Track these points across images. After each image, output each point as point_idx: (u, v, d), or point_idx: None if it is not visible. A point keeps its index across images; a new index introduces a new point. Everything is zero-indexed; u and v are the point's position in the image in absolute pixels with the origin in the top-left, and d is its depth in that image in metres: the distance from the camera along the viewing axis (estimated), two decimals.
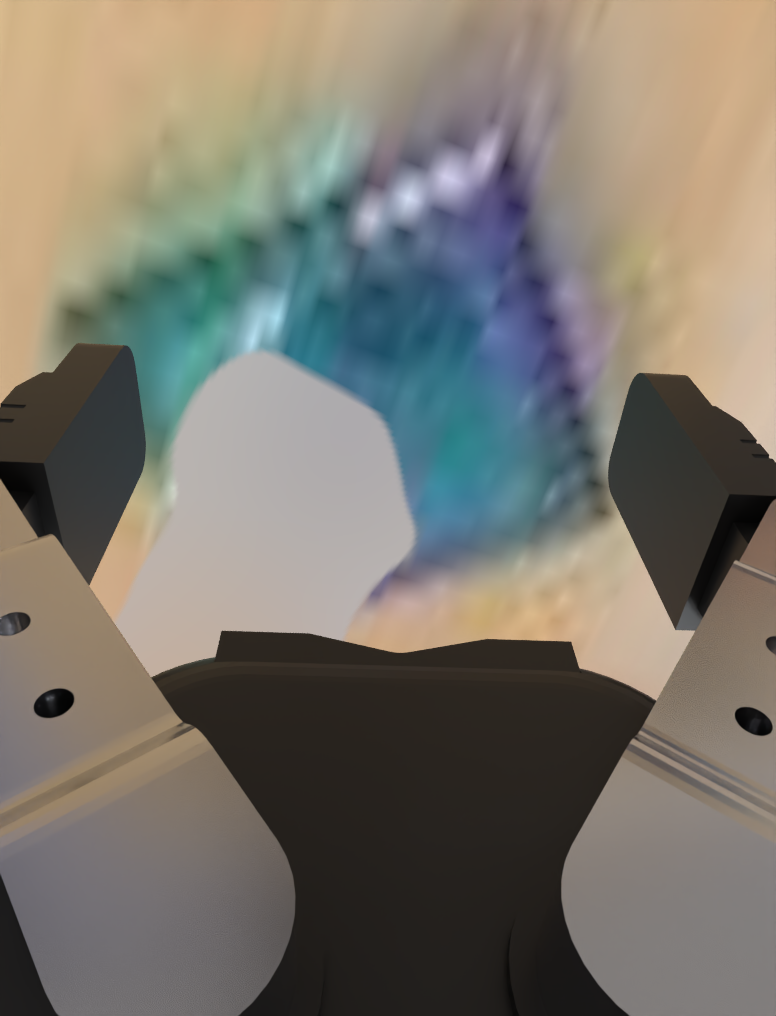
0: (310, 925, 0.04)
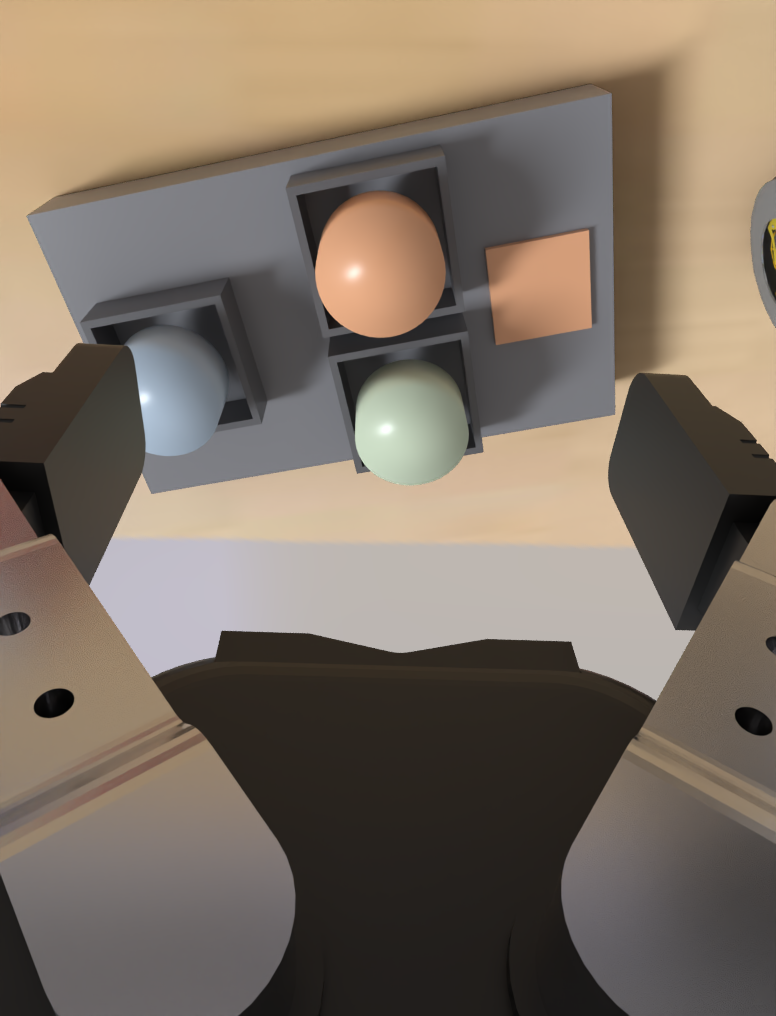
0: (310, 928, 0.04)
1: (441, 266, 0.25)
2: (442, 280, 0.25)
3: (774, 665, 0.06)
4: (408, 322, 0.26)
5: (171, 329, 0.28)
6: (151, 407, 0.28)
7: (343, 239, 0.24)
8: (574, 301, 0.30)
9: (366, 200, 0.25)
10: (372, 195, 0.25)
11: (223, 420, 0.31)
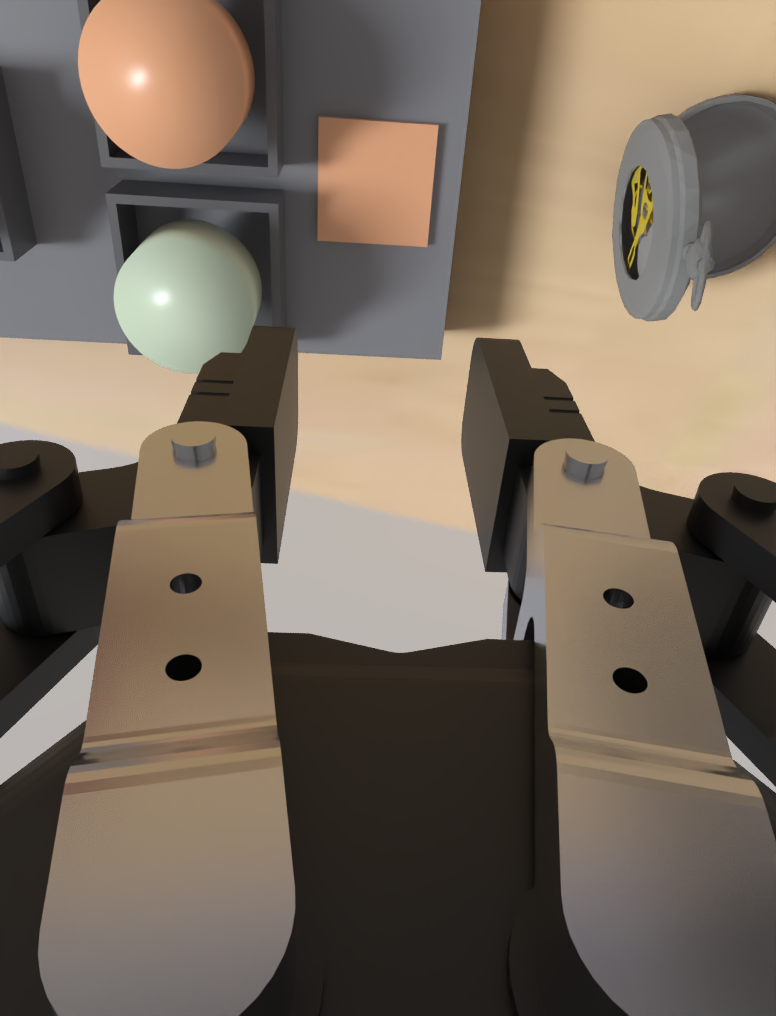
0: (310, 926, 0.04)
1: (238, 90, 0.20)
2: (238, 109, 0.21)
3: (619, 617, 0.06)
4: (191, 154, 0.21)
5: None
6: None
7: (118, 16, 0.19)
8: (411, 209, 0.26)
9: None
10: None
11: None
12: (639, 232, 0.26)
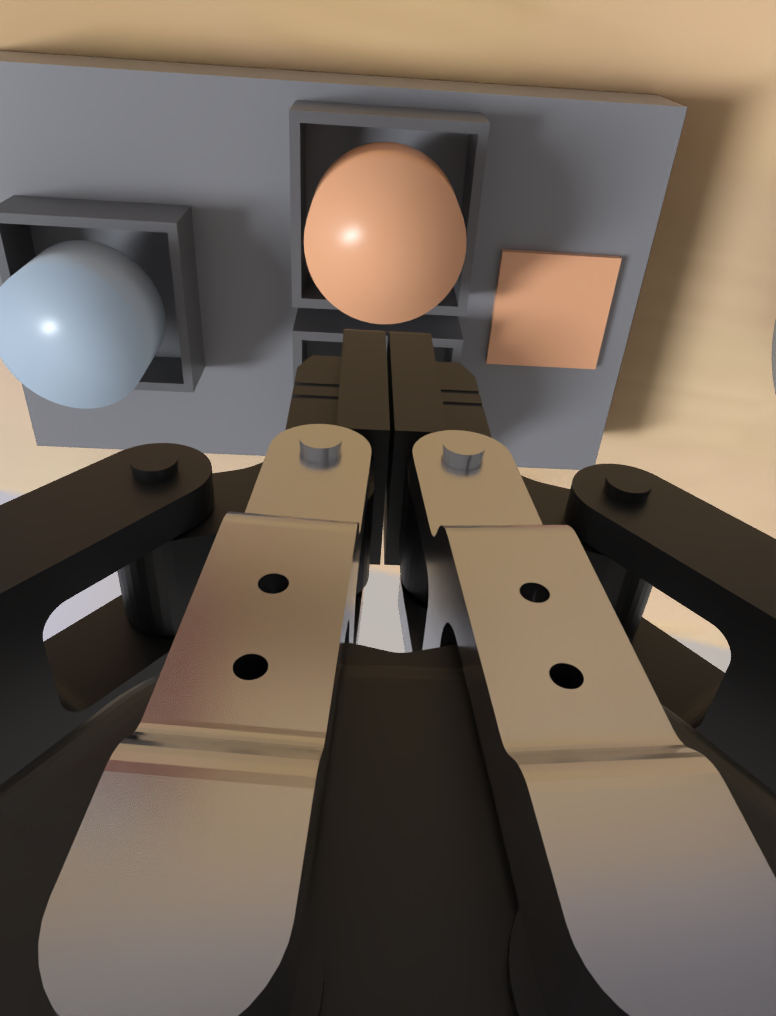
0: (310, 926, 0.04)
1: (460, 254, 0.20)
2: (457, 271, 0.21)
3: (541, 612, 0.06)
4: (404, 311, 0.21)
5: (105, 250, 0.22)
6: (58, 341, 0.22)
7: (351, 189, 0.19)
8: (584, 335, 0.26)
9: (388, 149, 0.20)
10: (395, 146, 0.20)
11: (146, 378, 0.25)
12: None
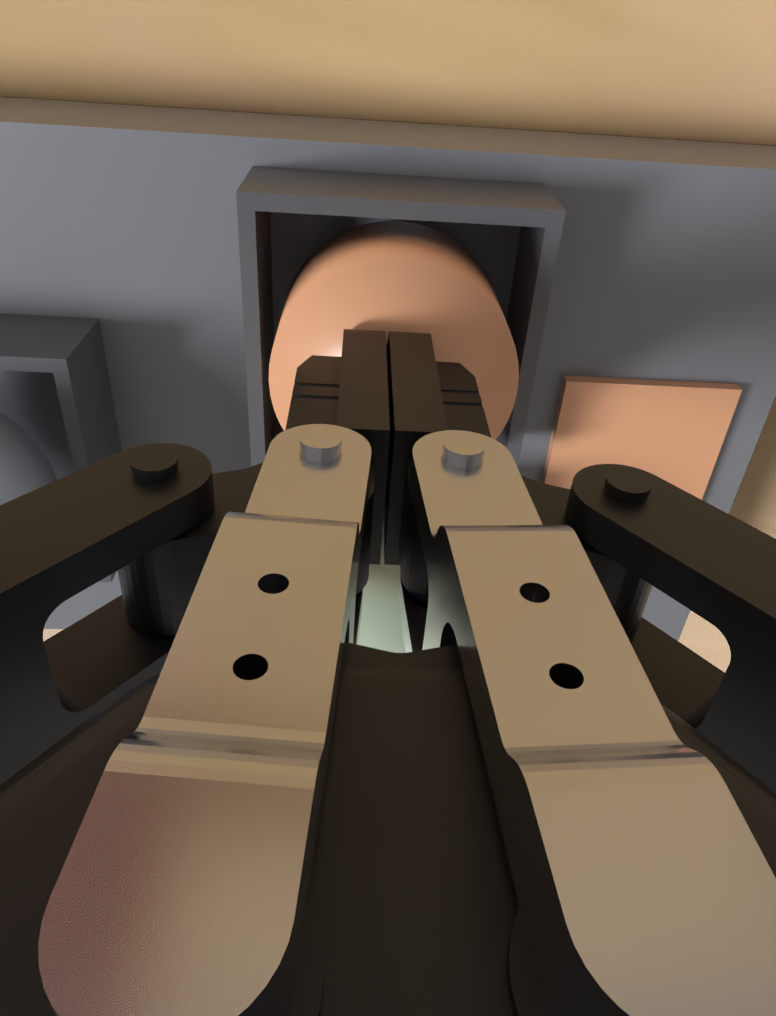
0: (310, 925, 0.04)
1: (507, 396, 0.13)
2: (503, 418, 0.14)
3: (541, 612, 0.06)
4: None
5: None
6: None
7: (340, 305, 0.12)
8: None
9: (398, 240, 0.13)
10: (408, 232, 0.13)
11: None
12: None
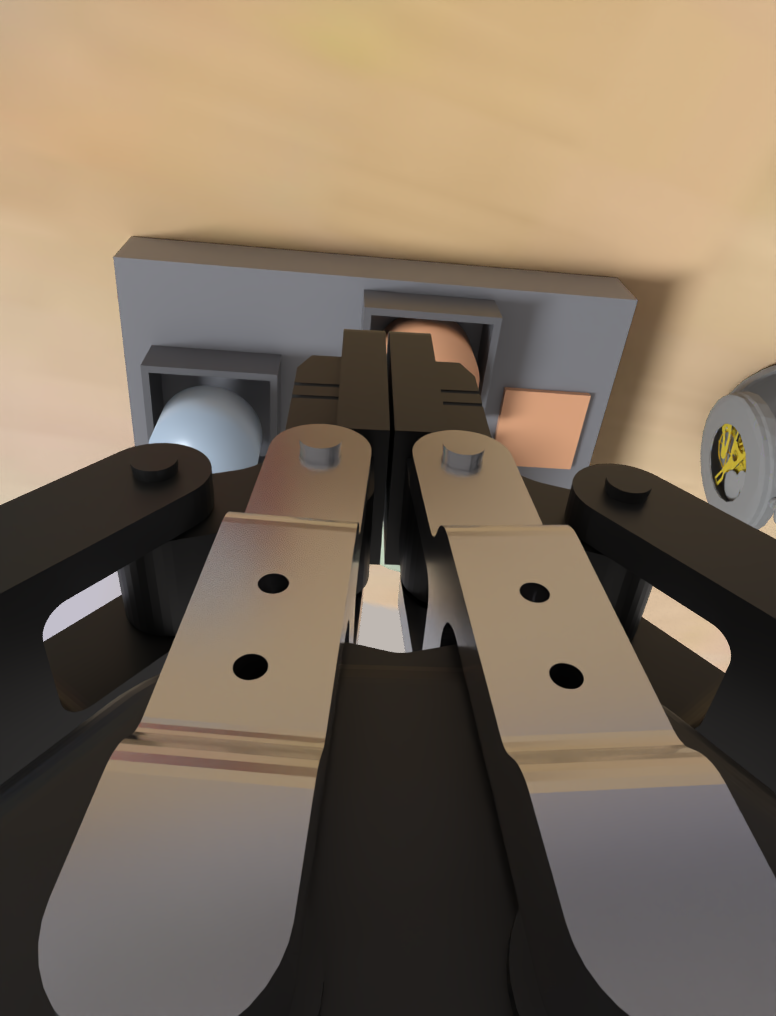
0: (310, 926, 0.04)
1: None
2: None
3: (541, 612, 0.06)
4: None
5: (226, 394, 0.31)
6: None
7: None
8: (563, 446, 0.36)
9: (430, 322, 0.30)
10: None
11: None
12: (728, 466, 0.36)
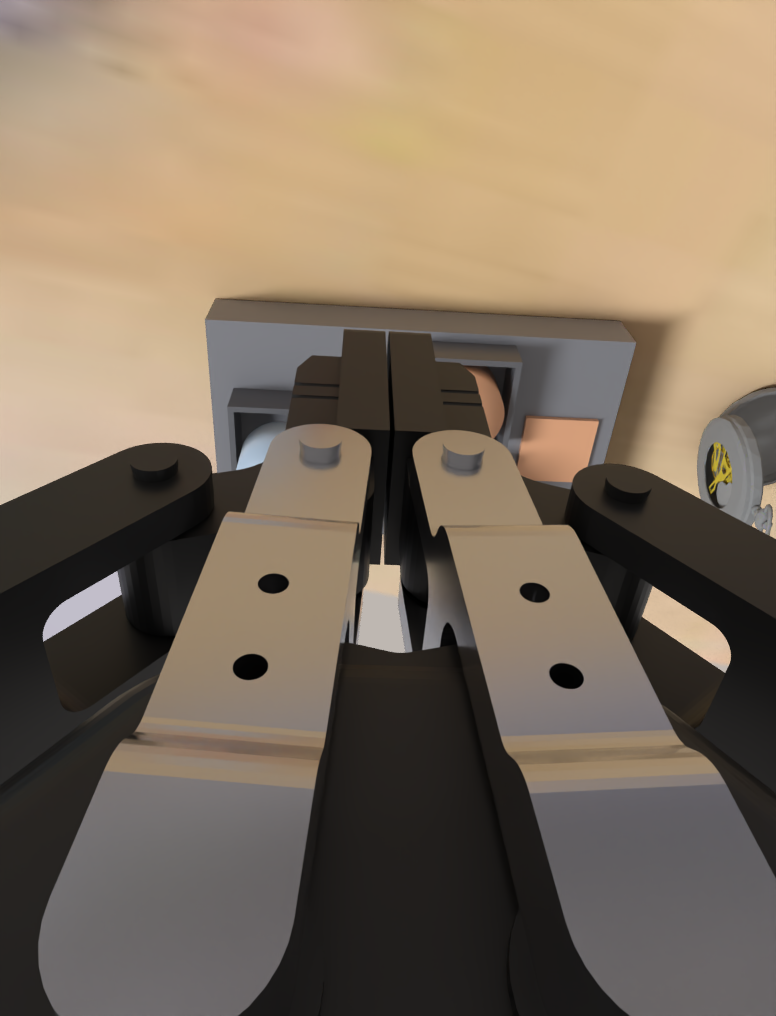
0: (310, 926, 0.04)
1: (500, 419, 0.38)
2: (498, 427, 0.38)
3: (541, 612, 0.06)
4: None
5: None
6: None
7: None
8: (576, 463, 0.42)
9: None
10: None
11: None
12: (719, 478, 0.42)
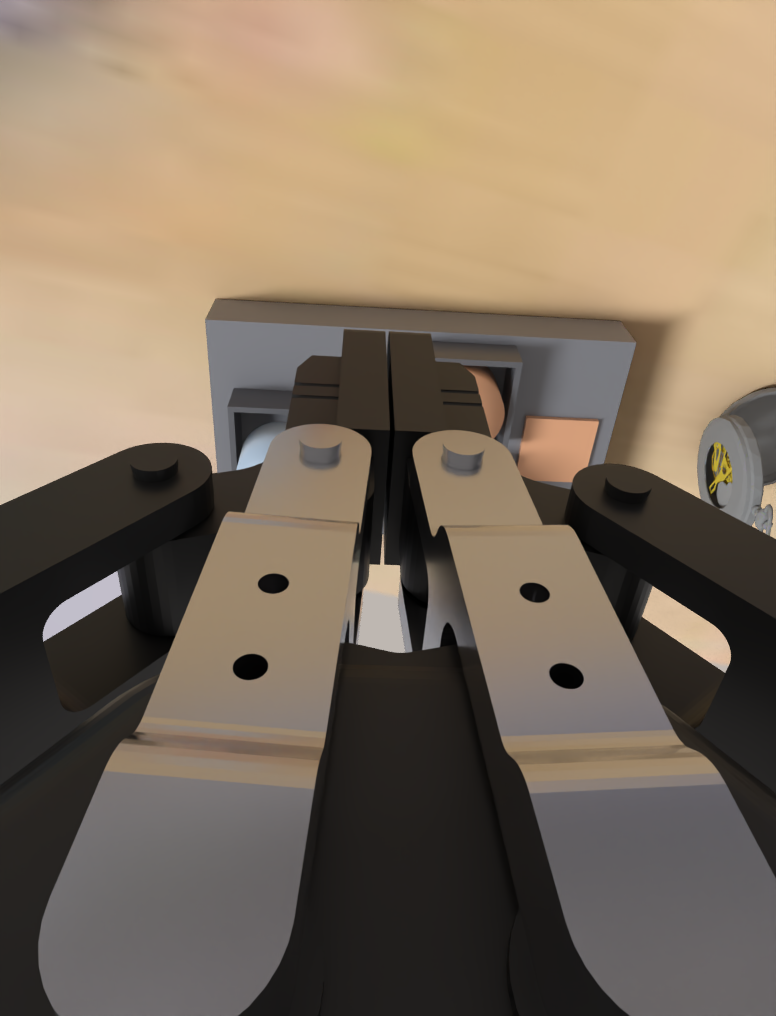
0: (310, 926, 0.04)
1: (500, 419, 0.38)
2: (499, 427, 0.38)
3: (540, 612, 0.06)
4: None
5: None
6: None
7: None
8: (576, 463, 0.42)
9: None
10: None
11: None
12: (719, 478, 0.42)
